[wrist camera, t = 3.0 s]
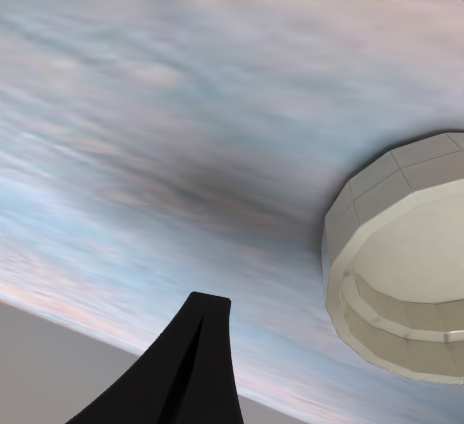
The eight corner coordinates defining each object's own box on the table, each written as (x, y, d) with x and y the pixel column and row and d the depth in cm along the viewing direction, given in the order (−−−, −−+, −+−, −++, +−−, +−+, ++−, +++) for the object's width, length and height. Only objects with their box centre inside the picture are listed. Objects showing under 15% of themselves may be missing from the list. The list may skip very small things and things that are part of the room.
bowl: (515, 322, 20) (564, 398, 16) (313, 303, 22) (316, 367, 18) (620, 130, 14) (735, 180, 10) (334, 126, 16) (343, 167, 12)
